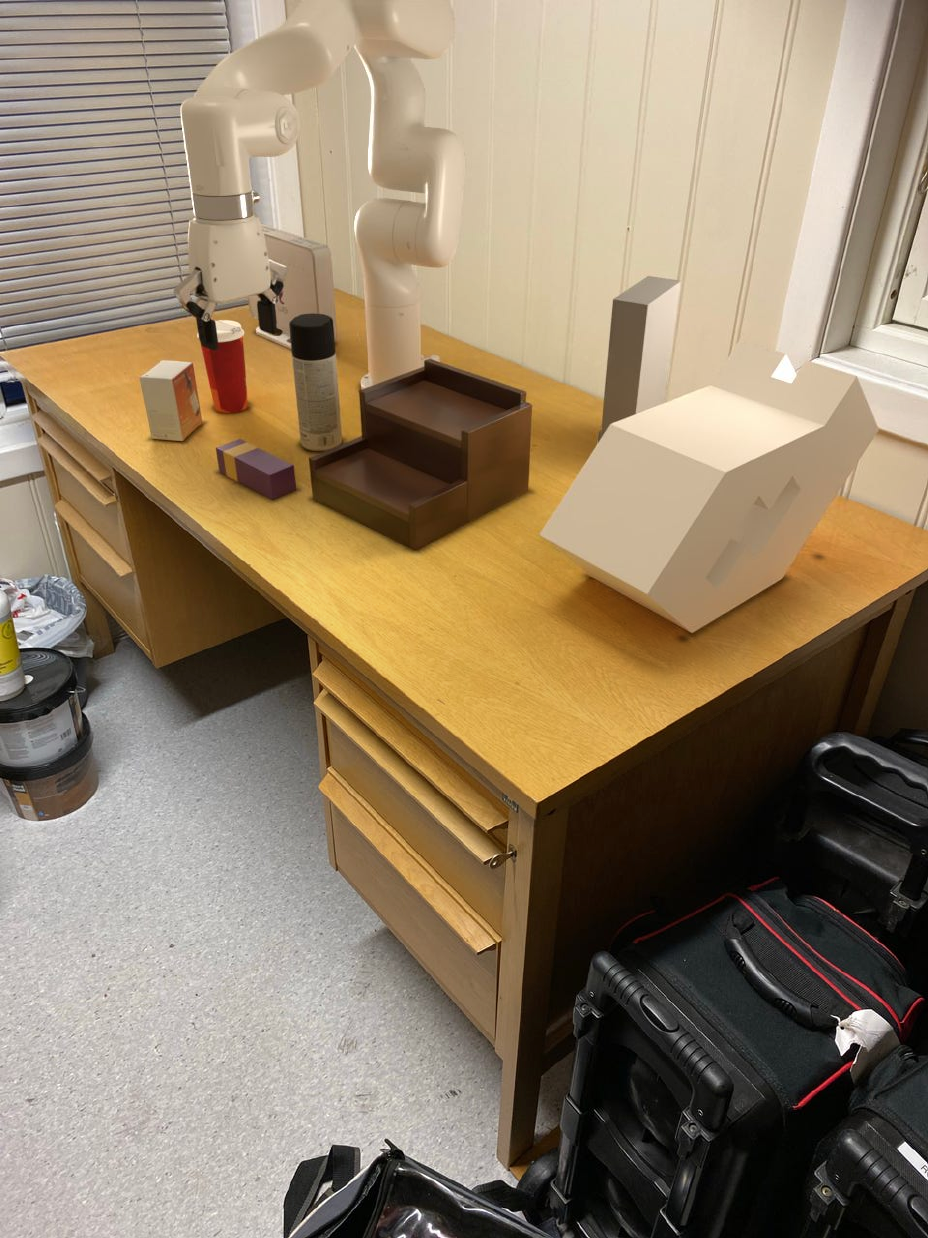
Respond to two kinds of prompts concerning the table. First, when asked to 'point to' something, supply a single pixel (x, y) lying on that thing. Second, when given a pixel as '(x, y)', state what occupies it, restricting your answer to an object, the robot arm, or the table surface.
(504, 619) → the table surface
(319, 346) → the spray can
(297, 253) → the network device
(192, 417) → the small box
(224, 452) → the purple banded block
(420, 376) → the step rack
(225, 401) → the paper cup
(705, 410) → the cream angular block
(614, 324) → the cassette tape recorder
